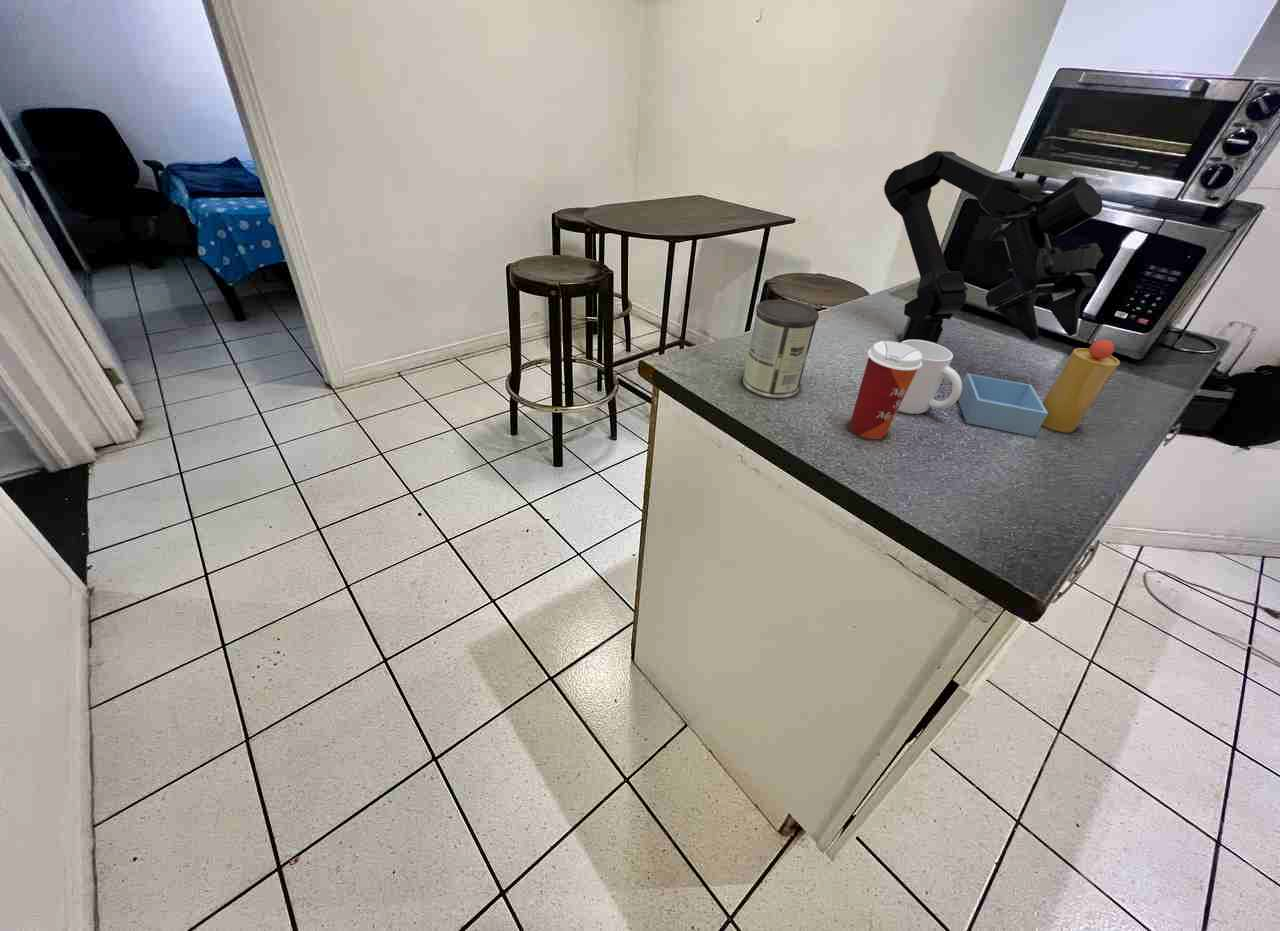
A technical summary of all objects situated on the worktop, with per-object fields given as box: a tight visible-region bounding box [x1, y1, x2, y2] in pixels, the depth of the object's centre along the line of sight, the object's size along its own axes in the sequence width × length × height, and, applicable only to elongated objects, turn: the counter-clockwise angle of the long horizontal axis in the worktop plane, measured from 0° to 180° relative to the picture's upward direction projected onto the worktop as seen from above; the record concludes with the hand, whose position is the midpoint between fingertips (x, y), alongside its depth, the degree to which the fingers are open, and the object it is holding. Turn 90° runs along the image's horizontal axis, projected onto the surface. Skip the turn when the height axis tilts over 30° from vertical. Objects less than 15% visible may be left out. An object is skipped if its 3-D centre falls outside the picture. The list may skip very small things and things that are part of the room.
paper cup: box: [849, 340, 922, 440], centre depth 81 cm, size 8×8×14 cm
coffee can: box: [742, 299, 820, 399], centre depth 92 cm, size 10×10×14 cm
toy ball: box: [1088, 339, 1115, 359], centre depth 83 cm, size 3×3×3 cm
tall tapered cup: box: [1041, 347, 1121, 433], centre depth 87 cm, size 6×6×12 cm
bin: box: [957, 373, 1048, 437], centre depth 91 cm, size 10×10×4 cm
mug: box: [897, 340, 963, 415], centre depth 89 cm, size 12×8×10 cm
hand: (1054, 337), depth 89 cm, fingers open, 9 cm apart
